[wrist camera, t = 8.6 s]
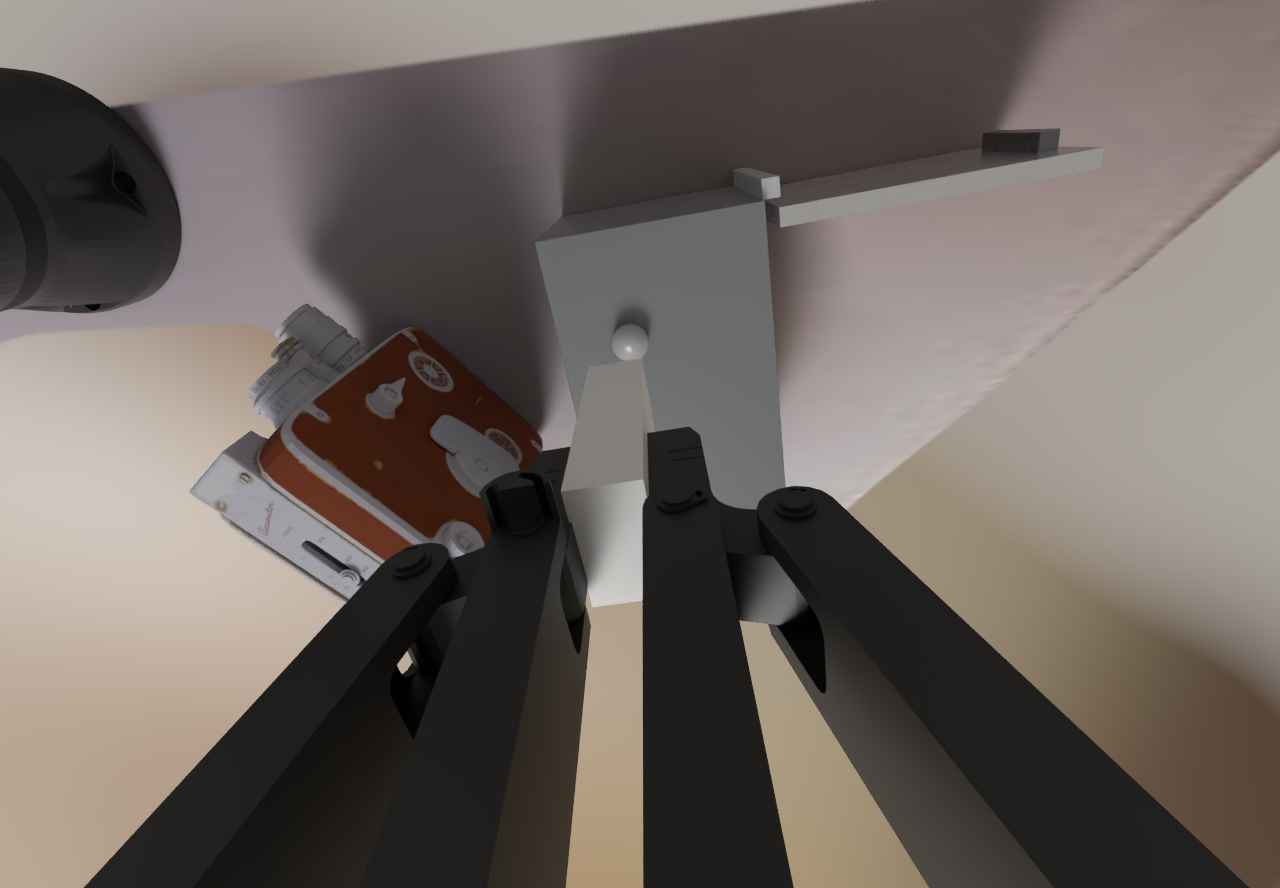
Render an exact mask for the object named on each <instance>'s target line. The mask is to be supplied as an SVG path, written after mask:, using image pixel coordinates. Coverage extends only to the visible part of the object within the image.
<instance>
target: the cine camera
mask: <svg viewBox="0 0 1280 888" xmlns="http://www.w3.org/2000/svg"><path fill="white" fill-rule="evenodd" d="M275 336H276V337H278V338H279V339H280V340H279V342H280V344H279V345H278V346H277V347H276V348H275V349H274V351H273V352H272V353H271V357H273V358H274V359H275V360H276V361H278V362H277V363H276V364H274V365H273V366H272V367H271V368H270V369H268V370H267V371H266V372H265V373H264V374H263V375H262V376H261V377H260V378H259V379H258V380H257V381H256V382H255V383H254V384H253V385H252V386H251V388H250V389H249V391H248V392H247V396H248V397H249V398H250V399H252V400H253V401H255V403H254V407H253V411H254V412H256V413H257V414H258V415H259V414H263V415H264V416H265V417H267V418H268V419H269V420H271V421H272V422H273V423H274V427H275V429H276V431H275V432H274V434H272V436H271V437H270V438H269V439H266V438H263V437H261V436H259V435H258V434H256V433H254V432H253V431H250V432H248V433H247V434H246V435H244V436H243V437H242V438H241V439H239V440H238V441H236V442H235V443H234V444H232V445H231V446H230V447H228V448H227V449H226V450H224V451H223V452H222V453H221V454H220V455H219V457H218V458H217V459H216V460H215V461H214V463H213V464H212V465H211V466H210V467H209V469H208V470H207V471H206V472H205V473H204V475H203V476H202V477H201V478H200V479H199V480H198V482H197V483H196V484H195V485H194V487H193V488H192V489H191V490H190V493H191V494H192V495H193V496H195V497H196V498H198V499H199V500H201V501H202V502H204V503H205V504H207V505H208V506H210V507H212V508H213V509H215V510H216V511H217V512H219V513H220V515H221V517H222V519H223V520H224V521H225V522H226V523H227V524H228V525H229V526H230V527H231V528H232V529H233V530H235V531H236V532H238V533H239V534H240V535H242V536H243V537H245V538H246V539H248V540H249V541H250V542H252V543H253V544H255V545H256V546H258V547H259V548H261V549H262V550H264V551H265V552H267V553H268V554H270V555H271V556H273V557H274V558H276V559H277V560H279V561H280V562H282V563H283V564H285V565H286V566H288V567H289V568H291V569H292V570H294V571H295V572H297V573H298V574H300V575H301V576H303V577H304V578H306V579H307V580H309V581H310V582H312V583H313V584H315V585H316V586H318V587H319V588H321V589H322V590H324V591H325V592H327V593H328V594H330V595H332V596H333V597H334V598H336V599H337V600H339V601H340V602H342V603H343V604H345V603H346V602H347V601H348V600H349V599H350V598H351V597H352V596H353V595H354V594H355V593H356V591H357V590H358V589H359V588H360V587H361V586H362V585H363V584H364V583H365V582H366V581H367V580H368V578H369V577H370V576H371V575H372V574H373V573H374V572H375V571H376V570H377V569H378V568H379V566H380V565H381V564H383V563H384V562H385V561H386V560H387V559H389V558H390V557H391V556H392V555H394V554H396V553H398V552H400V551H401V550H402V549H404V548H407V547H409V546H412V545H416V544H423V543H431V542H432V543H438V544H442V545H444V546H445V547H446V548H447V549H448V550H449V553H450V555H451V558H455V557H458V556H461V555H464V554H466V553H469V552H472V551H475V550H477V549H480V548H482V547H485V546H486V545H487V542H488V539H489V536H490V534H491V531H492V530H491V527H490V524H489V521H488V519H487V516H486V513H485V510H484V507H483V504H482V501H481V498H480V496H479V492H480V491H481V490H482V488H483V487H484V486H485V485H486V484H488V483H489V482H491V481H492V480H493V479H495V478H497V477H500V476H502V475H504V474H506V473H510V472H514V471H518V470H526V469H529V467H530V464H531V462H532V461H533V460H534V459H535V458H536V457H537V456H538V455H539V454H540V453H541V452H542V449H543V445H542V439H541V437H540V436H539V434H538V433H537V432H536V431H535V430H534V429H533V428H532V427H531V426H530V425H529V424H528V423H527V422H526V421H525V420H524V419H522V418H521V417H520V416H519V415H518V414H517V413H516V412H514V411H513V410H512V409H511V408H510V407H509V406H508V405H507V404H505V403H504V402H503V401H502V400H501V399H500V398H499V397H497V396H496V395H495V394H494V393H493V392H492V391H491V390H490V389H488V388H487V387H486V386H485V385H484V384H483V383H482V382H481V381H479V380H478V379H477V378H476V377H475V376H474V375H473V374H471V373H470V372H469V371H468V370H467V369H466V368H465V367H464V366H462V365H461V364H460V363H459V362H458V361H457V360H456V359H454V358H453V357H452V356H451V355H450V354H449V353H448V352H447V351H445V350H444V349H443V348H442V347H441V346H440V345H439V344H437V343H436V342H435V341H434V340H433V339H432V338H431V337H429V336H428V335H427V334H425V333H424V332H423V331H421V330H419V329H418V328H415V327H406V328H404V329H402V330H401V331H399V332H397V333H395V334H393V335H391V336H390V337H389V338H387V339H386V340H385V341H383V342H382V343H380V344H379V345H378V346H376V347H375V348H374V349H373V350H371V351H370V352H369V353H368V351H367V350H366V349H365V348H364V347H362V346H361V345H360V340H359V339H357V338H356V337H355V338H353V337H352V336H351V335H350V334H348V333H347V329H346V328H344V327H343V326H342V325H341V326H340V325H338V324H337V323H336V322H335V321H334V320H333V319H331V318H330V317H329V316H326V315H324V314H323V313H322V312H321V311H320V310H318V309H317V308H316V307H311V306H310V305H309V304H305V305H303V306H301V307H300V308H298V309H297V310H296V311H294V312H293V313H292V314H291V315H290V316H289V317H288V318H287V319H286V320H285V321H284V322H283V323H282V324H281V325H280V327H279V328H278V329H277V331H276V333H275Z"/></svg>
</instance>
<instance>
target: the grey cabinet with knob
mask: <svg viewBox="0 0 1280 888" xmlns="http://www.w3.org/2000/svg"><path fill="white" fill-rule="evenodd" d="M733 179H734V185H731V186H726V187H720V188H715V189H709V190H704V191H698V192H693V193H687V194H682V195H676V196H671V197H666V198H660V199H655V200H649V201H644V202H638V203H633V204H627V205H622V206H616V207H611V208H605V209H600V210H595V211H589V212H584V213H578V214H573V215H567V216H562V217H561V218H560V219H559V220H558V221H557V222H556V223H555V224H554V225H553V226H552V227H551V228H550V229H548V230H547V231H546V232H545V233H544V234H543V235H542V236H541V237H540V238H539V239H538V240H537V241H536V242H535V245H536V250H537V254H538V258H539V262H540V266H541V270H542V275H543V279H544V283H545V287H546V291H547V295H548V300H549V304H550V308H551V312H552V316H553V321H554V325H555V329H556V333H557V337H558V341H559V346H560V350H561V354H562V358H563V362H564V367H565V371H566V375H567V379H568V383H569V387H570V392H571V396H572V400H573V404H574V408H575V412H576V417H577V416H578V412H579V407H580V403H581V398H582V394H583V389H584V385H585V380H586V376H587V371H588V367H593V366H598V365H604V364H610V363H616V362H622V361H628V360H634V359H640V358H642V362H643V367H644V373H645V378H646V384H647V389H648V394H649V400H650V405H651V411H652V416H653V422H654V427H655V432H657V431H663V430H670V429H676V428H682V427H691V428H692V429H693V430H694V431H696V432H697V433H698V434H700V437H701V442H702V448H703V452H704V457H705V462H706V467H707V472H708V477H709V481H710V486H711V491H712V493H713V495H714V497H715V498H716V499H717V500H718V501H720V502H722V503H724V504H726V505H728V506H732V507H735V508H743V509H757V506H758V502H759V501H760V500H761V499H762V498H763V497H764V496H765V495H766V494H768V493H770V492H773V491H775V490H777V489H780V488H785V475H784V461H783V447H782V433H781V420H780V406H779V392H778V378H777V364H776V350H775V336H774V322H773V308H772V294H771V281H770V267H769V253H768V239H767V225H766V211H765V201H764V200H766V199H772V198H777V197H781V196H780V179H779V176H778V175H774V174H770V173H766V172H763V171H759V170H755V169H751V168H747V167H744V168H739V169H733Z"/></svg>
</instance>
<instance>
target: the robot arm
mask: <svg viewBox="0 0 1280 888" xmlns="http://www.w3.org/2000/svg"><path fill="white" fill-rule="evenodd" d="M179 249H180V222H179V215H178V210H177V206H176V202H175V199H174V196H173V193H172V190H171V188H170V186H169V183H168V181H167V179H166V177H165V175H164V173H163V171H162V169H161V167H160V166H159V164H158V162H157V161H156V159H155V157H154V156H153V154H152V153H151V152H150V150H149V149H148V147H147V146H146V145H145V143H144V142H143V141H142V140H141V138H140V137H139V136H138V135H137V134H136V133H135V131H134V130H133V129H132V128H131V127H130V126H129V125H128V124H127V123H126V122H125V121H124V120H123V119H122V118H121V117H120V116H118V115H117V114H116V113H115V112H114V111H113V110H111V109H110V108H109V107H108V106H106V105H105V104H104V103H102V102H101V101H100V100H98V99H97V98H95V97H94V96H92V95H91V94H89V93H87V92H85V91H84V90H82V89H80V88H78V87H77V86H74V85H72V84H70V83H68V82H66V81H64V80H61V79H58V78H56V77H53V76H49V75H46V74H42V73H38V72H33V71H26V70H17V69H8V68H0V312H1V311H4V310H8V309H18V310H35V311H51V312H70V313H96V312H104V311H109V310H113V309H117V308H120V307H123V306H126V305H129V304H133V303H136V302H138V301H141V300H143V299H145V298H147V297H149V296H150V295H152V294H154V293H155V292H156V291H157V290H159V289H160V288H161V287H162V286H163V285H164V283H165V282H166V281H167V280H168V278H169V277H170V275H171V273H172V271H173V269H174V267H175V264H176V262H177V258H178V254H179ZM479 496H480V498H481V501H482V504H483V507H484V510H485V513H486V516H487V519H488V521H489V524H490V527H491V530H492V531H491V534H490V536H489V539H488V542H487V545H486V546H485V547H482V548H480V549H477V550H475V551H472V552H469V553H466V554H464V555H461V556H458V557H455V558H451V555H450V553H449V550H448V549H447V548H446V547H445V546H444V545H442V544H438V543H432V542H431V543H423V544H416V545H412V546H409V547H407V548H404V549H402V550H401V551H400V552H398V553H396V554H394V555H392V556H391V557H390V558H389V559H387V560H386V561H385V562H384V563H383V564H381V565H380V566H379V568H378V569H377V570H376V571H375V572H374V573H373V574H372V575H371V576H370V577H369V578H368V580H367V581H366V582H365V583H364V584H363V585H362V586H361V587H360V588H359V589H358V590H357V591H356V593H355V594H354V595H353V596H352V597H351V598H350V599H349V600H348V601H347V602H346V603H345V605H344V606H343V607H342V608H341V609H340V610H339V611H338V612H337V613H336V614H335V615H334V616H333V618H332V619H331V620H330V621H329V622H328V623H327V624H326V625H325V626H324V627H323V628H322V630H321V631H320V632H319V633H318V634H317V635H316V636H315V637H314V638H313V639H312V640H311V642H310V643H309V644H308V645H307V646H306V647H305V648H304V649H303V650H302V651H301V652H300V653H299V655H298V656H297V657H296V658H295V659H294V660H293V661H292V662H291V663H290V664H289V665H288V666H287V668H286V669H285V670H284V671H283V672H282V673H281V674H280V675H279V676H278V677H277V678H276V680H275V681H274V682H273V683H272V684H271V685H270V686H269V687H268V688H267V689H266V690H265V691H264V693H263V694H262V695H261V696H260V697H259V698H258V699H257V700H256V701H255V702H254V703H253V704H252V706H251V707H250V708H249V709H248V710H247V711H246V712H245V713H244V714H243V715H242V717H241V718H240V719H239V720H238V721H237V722H236V723H235V724H234V725H233V726H232V727H231V728H230V729H229V731H228V732H227V733H226V734H225V735H224V736H223V737H222V738H221V739H220V740H219V741H218V743H217V744H216V745H215V746H214V747H213V748H212V749H211V750H210V751H209V752H208V753H207V754H206V756H205V757H204V758H203V759H202V760H201V761H200V762H199V763H198V764H197V765H196V767H195V768H194V769H193V770H192V771H191V772H190V773H189V774H188V775H187V776H186V777H185V778H184V779H183V781H182V782H181V783H180V784H179V785H178V786H177V787H176V788H175V789H174V790H173V791H172V793H171V794H170V795H169V796H168V797H167V798H166V799H165V800H164V801H163V802H162V803H161V805H160V806H159V807H158V808H157V809H156V810H155V811H154V812H153V813H152V814H151V815H150V816H149V818H148V819H147V820H146V821H145V822H144V823H143V824H142V825H141V826H140V827H139V828H138V829H137V831H136V832H135V833H134V834H133V835H132V836H131V837H130V838H129V839H128V840H127V841H126V842H125V844H124V845H123V846H122V847H121V848H120V849H119V850H118V851H117V852H116V853H115V855H114V856H113V857H112V858H111V859H110V860H109V861H108V862H107V863H106V864H105V865H104V867H103V868H102V869H101V870H100V871H99V872H98V873H97V874H96V875H95V876H94V877H93V878H92V879H91V880H90V882H89V883H88V884H87V885H86V886H85V887H84V888H565V886H566V876H567V867H568V856H569V845H570V835H571V825H572V814H573V804H574V794H575V783H576V772H577V763H578V752H579V742H580V731H581V721H582V710H583V700H584V690H585V680H586V669H587V659H588V648H589V636H590V627H591V625H590V620H589V615H588V612H587V608H586V605H585V602H586V594H587V589H588V593H589V596H590V600H591V603H592V607H598V606H604V605H612V604H619V603H627V602H634V601H642V600H643V853H644V854H643V865H644V867H643V869H644V870H643V873H644V874H643V876H644V877H643V878H644V880H643V881H644V882H643V883H644V888H793V883H792V878H791V873H790V868H789V863H788V858H787V853H786V848H785V843H784V838H783V834H782V828H781V824H780V818H779V814H778V809H777V804H776V799H775V794H774V789H773V784H772V779H771V774H770V769H769V764H768V759H767V754H766V750H765V745H764V740H763V735H762V730H761V725H760V720H759V715H758V710H757V705H756V701H755V695H754V691H753V686H752V681H751V676H750V672H749V666H748V662H747V656H746V651H745V646H744V641H743V637H742V631H741V626H740V622H739V620H742V621H749V622H757V623H766V624H768V625H769V628H770V631H771V634H772V636H773V637H774V639H775V640H776V642H777V644H778V645H779V647H780V649H781V650H782V652H783V653H784V655H785V657H786V658H787V660H788V661H789V663H790V665H791V666H792V668H793V670H794V671H795V673H796V674H797V676H798V677H799V679H800V681H801V682H802V684H803V686H804V687H805V689H806V690H807V692H808V693H809V695H810V697H811V698H812V700H813V702H814V703H815V705H816V706H817V708H818V710H819V711H820V713H821V715H822V716H823V718H824V719H825V721H826V723H827V724H828V726H829V727H830V729H831V731H832V732H833V734H834V735H835V737H836V739H837V740H838V742H839V743H840V745H841V747H842V748H843V750H844V751H845V753H846V755H847V756H848V758H849V759H850V761H851V763H852V764H853V766H854V768H855V769H856V771H857V772H858V774H859V776H860V777H861V779H862V780H863V782H864V783H865V785H866V787H867V788H868V790H869V792H870V793H871V795H872V796H873V798H874V800H875V801H876V803H877V805H878V806H879V808H880V809H881V811H882V812H883V814H884V816H885V817H886V819H887V821H888V822H889V824H890V825H891V827H892V829H893V830H894V832H895V833H896V835H897V836H898V838H899V840H900V841H901V843H902V845H903V846H904V848H905V850H906V851H907V853H908V854H909V856H910V857H911V859H912V861H913V862H914V864H915V866H916V867H917V869H918V870H919V872H920V874H921V875H922V877H923V878H924V880H925V882H926V883H927V885H928V886H929V888H1249V887H1248V886H1247V885H1246V884H1245V883H1244V882H1243V881H1242V880H1240V879H1239V878H1238V877H1237V876H1236V875H1235V874H1234V873H1233V872H1232V871H1231V870H1230V869H1229V868H1228V867H1227V866H1226V865H1224V864H1223V863H1222V862H1221V861H1220V860H1219V859H1218V858H1217V857H1216V856H1215V855H1214V854H1213V853H1212V852H1211V851H1210V850H1208V849H1207V848H1206V847H1205V846H1204V845H1203V844H1202V843H1201V842H1200V841H1199V840H1198V839H1197V838H1196V837H1195V836H1193V835H1192V834H1191V833H1190V832H1189V831H1188V830H1187V829H1186V828H1185V827H1184V826H1183V825H1182V824H1181V823H1179V821H1178V820H1176V819H1175V818H1174V817H1173V816H1172V815H1171V814H1170V813H1169V812H1168V811H1167V810H1166V809H1165V808H1164V807H1163V806H1161V805H1160V804H1159V803H1158V802H1157V801H1156V800H1155V799H1154V798H1153V797H1152V796H1151V795H1150V794H1149V793H1148V792H1147V791H1145V790H1144V789H1143V788H1142V787H1141V786H1140V785H1139V784H1138V783H1137V782H1136V781H1135V780H1134V779H1133V778H1132V777H1131V776H1129V775H1128V774H1127V773H1126V772H1125V771H1124V770H1123V769H1122V768H1121V767H1120V766H1119V765H1118V764H1117V763H1116V762H1115V761H1113V760H1112V759H1111V758H1110V757H1109V756H1108V755H1107V754H1106V753H1105V752H1104V751H1103V750H1102V749H1101V748H1100V747H1099V746H1097V745H1096V744H1095V743H1094V742H1093V741H1092V740H1091V739H1090V738H1089V737H1088V736H1087V735H1086V734H1085V733H1084V732H1082V731H1081V730H1080V729H1079V728H1078V727H1077V726H1076V725H1075V724H1074V723H1073V722H1072V721H1071V720H1070V719H1069V718H1068V717H1066V716H1065V715H1064V714H1063V713H1062V712H1061V711H1060V710H1059V709H1058V708H1057V707H1056V706H1054V704H1053V703H1051V702H1050V701H1049V700H1048V699H1047V698H1046V697H1045V696H1044V695H1043V694H1042V693H1041V692H1040V691H1039V690H1038V689H1036V687H1034V686H1033V685H1032V684H1031V683H1030V682H1029V681H1028V680H1027V679H1026V678H1025V677H1023V675H1022V674H1021V673H1019V672H1018V671H1017V670H1016V669H1015V668H1014V667H1013V666H1012V665H1011V664H1010V663H1009V662H1008V661H1007V660H1006V659H1005V658H1003V657H1002V656H1001V655H1000V654H999V653H998V652H997V651H996V650H995V649H994V648H993V647H992V646H991V645H990V644H989V643H987V642H986V641H985V640H984V639H983V638H982V637H981V636H980V635H979V634H978V633H977V632H976V631H975V630H974V629H972V628H971V627H970V626H969V625H968V624H967V623H966V622H965V621H964V620H963V619H962V618H961V617H959V615H958V614H956V613H955V612H954V611H953V610H952V609H951V608H950V607H949V606H948V605H947V604H946V603H945V602H944V601H943V600H941V599H940V598H939V597H938V596H937V595H936V594H935V593H934V592H933V591H932V590H931V589H930V588H929V587H928V586H927V585H926V584H924V583H923V582H922V581H921V580H920V579H919V578H918V577H917V576H916V575H915V574H914V573H913V572H911V570H910V569H908V568H907V567H906V566H905V565H904V564H903V563H902V562H901V561H900V560H899V559H898V558H897V557H896V556H894V555H893V554H892V553H891V552H890V551H889V550H888V549H887V548H886V547H885V546H884V545H883V544H882V543H881V542H879V540H877V539H876V538H875V537H874V536H873V535H872V534H871V533H870V532H869V531H868V530H867V529H866V528H865V527H864V526H862V525H861V524H860V523H859V522H858V521H857V520H856V519H855V518H854V517H853V516H852V515H851V514H850V513H849V512H848V511H847V510H845V509H844V508H843V507H842V506H841V505H840V504H839V503H838V502H837V501H836V500H835V499H834V498H833V497H831V496H830V495H828V494H827V493H825V492H823V491H822V490H818V489H814V488H811V487H803V486H800V487H798V486H791V487H786V488H780V489H777V490H775V491H773V492H770V493H768V494H766V495H765V496H764V497H763V498H762V499H761V500H760V501H759V502H758V506H757V509H743V508H735V507H732V506H728V505H726V504H724V503H722V502H720V501H718V500H717V499H716V498H715V497H714V495H713V493H712V491H711V486H710V481H709V477H708V472H707V467H706V462H705V457H704V452H703V448H702V442H701V437H700V434H698V433H697V432H696V431H694V430H693V429H692V428H691V427H682V428H676V429H670V430H663V431H657V432H655V427H654V422H653V416H652V411H651V405H650V400H649V394H648V389H647V384H646V378H645V373H644V367H643V362H642V358H640V359H634V360H628V361H622V362H616V363H610V364H604V365H598V366H593V367H588V371H587V376H586V380H585V385H584V389H583V394H582V398H581V403H580V407H579V412H578V416H577V421H576V425H575V430H574V434H573V439H572V443H571V447H566V448H560V449H554V450H547V451H542V452H541V453H540V454H539V455H538V456H537V457H536V458H535V459H534V460H533V461H532V462H531V464H530V467H529V469H526V470H518V471H514V472H510V473H506V474H504V475H502V476H500V477H497V478H495V479H493V480H492V481H491V482H489V483H488V484H486V485H485V486H484V487H483V488H482V490H481V491H480V492H479ZM407 651H408V653H409V655H410V657H411V660H412V662H413V663H412V664H411V665H410V667H409V668H408V670H407V671H406V672H405V673H403V674H402V673H401V672H400V671H399V669H398V667H397V664H398V663H399V661H400V660H401V658H402V657H403V656H404V654H405V653H406V652H407Z"/></svg>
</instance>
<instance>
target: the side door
mask: <svg viewBox="0 0 1280 888" xmlns="http://www.w3.org/2000/svg"><path fill="white" fill-rule="evenodd" d="M1059 135H1060V129H1026V130H998V131H993V132H988V133H983V141H982V147H979V148H974V149H968V150H963V151H958V152H952V153H947V154H942V155H937V156H931V157H926V158H921V159H915V160H910V161H905V162H899V163H894V164H889V165H884V166H878V167H873V168H868V169H862V170H857V171H852V172H846V173H841V174H836V175H830V176H825V177H820V178H815V179H809V180H804V181H799V182H793V183H788V184H783V185H780V196H781V197H777V198H772V199H766V200H764V201H765V211H766V219H768V220H769V221H771V222H772V223H774V224H776V225H777V226H779V227H780V228H781V227H786V226H792V225H797V224H803V223H808V222H814V221H819V220H825V219H830V218H836V217H841V216H847V215H852V214H858V213H863V212H869V211H874V210H880V209H885V208H890V207H896V206H901V205H907V204H912V203H918V202H923V201H929V200H934V199H940V198H945V197H951V196H956V195H962V194H967V193H973V192H978V191H984V190H989V189H995V188H1000V187H1005V186H1011V185H1016V184H1022V183H1027V182H1033V181H1038V180H1044V179H1049V178H1055V177H1060V176H1066V175H1071V174H1077V173H1082V172H1088V171H1093V170H1099V169H1100V167H1101V161H1102V154H1103V148H1104V147H1058V143H1059Z"/></svg>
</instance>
